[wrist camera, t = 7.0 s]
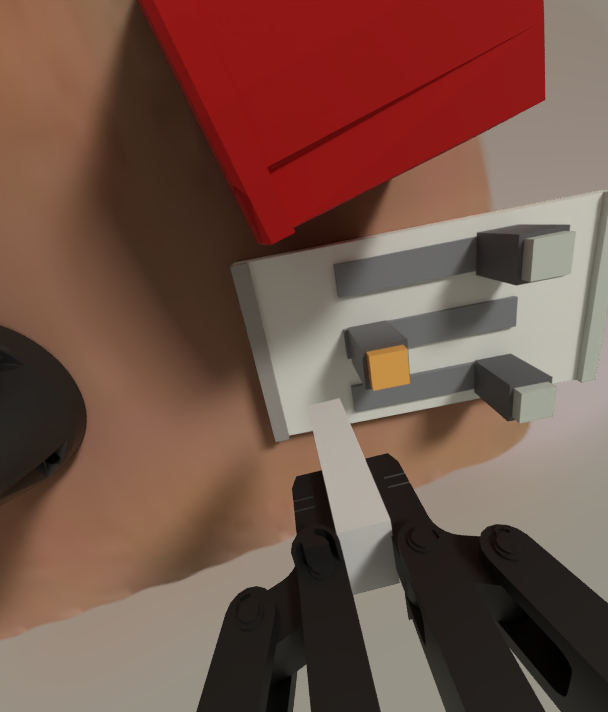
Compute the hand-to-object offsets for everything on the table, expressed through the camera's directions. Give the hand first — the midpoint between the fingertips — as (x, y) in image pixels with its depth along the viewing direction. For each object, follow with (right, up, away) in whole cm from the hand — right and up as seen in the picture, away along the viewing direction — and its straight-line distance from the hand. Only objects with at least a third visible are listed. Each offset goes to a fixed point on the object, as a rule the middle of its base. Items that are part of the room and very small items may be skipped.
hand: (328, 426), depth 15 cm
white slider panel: (+9, +6, +13) cm, 17 cm away
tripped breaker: (+4, +4, +10) cm, 12 cm away
